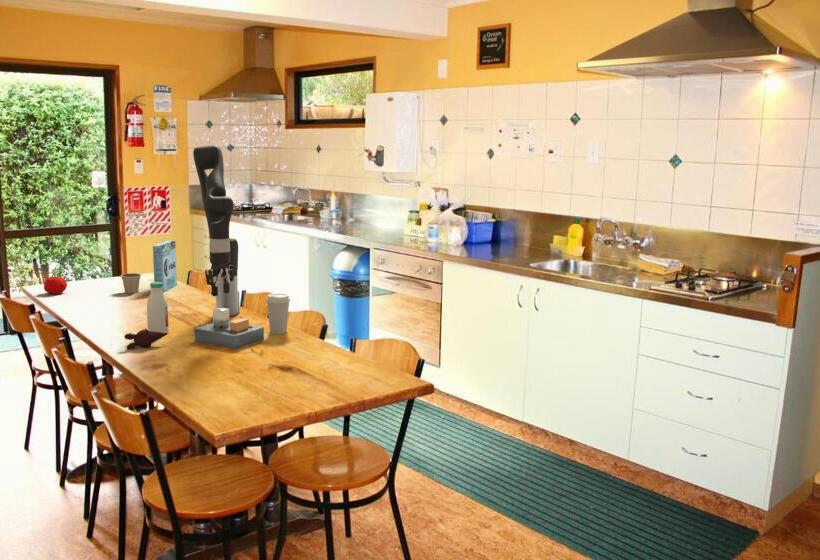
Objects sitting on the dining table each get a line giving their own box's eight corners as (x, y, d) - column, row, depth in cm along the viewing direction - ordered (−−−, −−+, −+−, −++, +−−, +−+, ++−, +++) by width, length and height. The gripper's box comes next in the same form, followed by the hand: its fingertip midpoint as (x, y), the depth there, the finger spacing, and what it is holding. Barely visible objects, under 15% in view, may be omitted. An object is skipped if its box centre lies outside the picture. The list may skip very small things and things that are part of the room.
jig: (224, 332, 295) (223, 318, 294) (263, 339, 286) (263, 325, 285) (194, 341, 281) (194, 326, 280) (235, 349, 272) (235, 334, 271)
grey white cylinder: (221, 334, 290) (220, 307, 287) (232, 337, 287) (232, 309, 285) (210, 338, 284) (209, 310, 282) (222, 340, 282) (221, 312, 279)
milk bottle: (162, 336, 287) (160, 285, 283) (143, 334, 289) (141, 283, 285) (172, 331, 295) (170, 281, 291) (154, 329, 296) (152, 280, 292)
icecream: (162, 324, 279) (121, 333, 271) (168, 324, 273) (125, 332, 265) (166, 342, 279) (125, 351, 271) (171, 342, 273) (129, 351, 265)
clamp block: (242, 326, 284) (242, 318, 283) (248, 328, 283) (248, 319, 282) (230, 330, 278) (229, 321, 277) (236, 331, 277) (236, 323, 276)
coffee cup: (261, 331, 297) (260, 295, 295) (280, 328, 304) (280, 291, 302) (275, 336, 291) (275, 299, 288) (295, 332, 298) (295, 295, 295)
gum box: (163, 292, 366) (162, 246, 362) (153, 292, 366) (151, 245, 362) (177, 285, 385) (176, 240, 381) (167, 284, 385) (166, 240, 381)
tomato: (40, 293, 355) (39, 276, 354) (60, 290, 363) (59, 273, 362) (51, 296, 350) (50, 278, 348) (71, 293, 358) (70, 276, 357)
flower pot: (137, 294, 359) (137, 277, 358) (118, 294, 359) (117, 276, 358) (144, 290, 368) (144, 273, 367) (125, 290, 369) (125, 273, 367)
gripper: (225, 247, 287) (226, 290, 290) (198, 251, 275) (199, 296, 278) (240, 248, 284) (241, 292, 287) (213, 253, 271) (214, 299, 274)
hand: (220, 294), depth 282 cm, fingers open, 5 cm apart
